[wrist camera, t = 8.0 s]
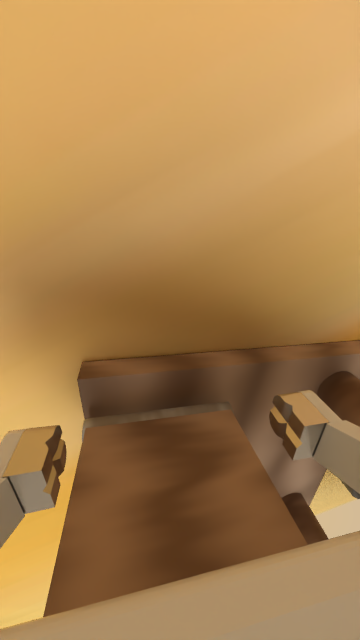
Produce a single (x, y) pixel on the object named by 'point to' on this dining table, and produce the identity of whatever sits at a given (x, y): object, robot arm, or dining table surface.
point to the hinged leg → (164, 505)
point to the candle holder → (352, 491)
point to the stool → (238, 400)
